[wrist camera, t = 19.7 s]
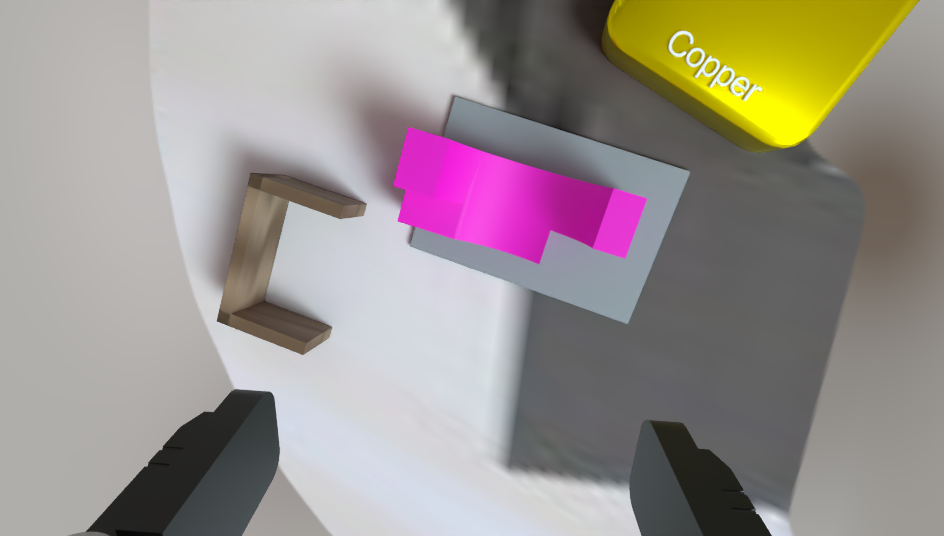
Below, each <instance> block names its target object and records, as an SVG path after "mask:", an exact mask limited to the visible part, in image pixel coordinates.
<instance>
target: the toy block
mask: <svg viewBox="0 0 944 536" xmlns="http://www.w3.org/2000/svg"><path fill="white" fill-rule="evenodd" d="M393 186H394V187H398V188H401V189H404V190H406V191H405V195H404V199H403V203H402V206H401V210H400V214H399V218H398V222H402V223H405V224H408V225H411V226H414V227H417V228H420V229H423V230H427V231H430V232H433V233H436V234H439V235H442V236H445V237H448V238H451V239H456V240H461V241H466V242H470V243H474V244H478V245H482V246H486V247H489V248H493V249H496V250H500V251H503V252H506V253H509V254H512V255H515V256H518V257H521V258H524V259H526V260H529V261H532V262H534V263H537V264H540V261H541V258H542V255H543V252H544V249H545V246H546V243H547V240H548V237H549V234H550V231H554V232H556V233H559V234H562V235H564V236H567V237H569V238H572V239H574V240H577V241H579V242H581V243H584V244H586V245H588V246H589V247H591V248H593V249H596V250H599V251H602V252H605V253H608V254H612V255H615V256H618V257H621V258H624V259H626V256H627V253H628V250H629V248H630V245H631V242H632V239H633V237H634V234H635V231H636V229H637V226H638V223H639V220H640V218H641V215H642V212H643V209H644V207H645V204H646V201H647V199H648V198H645V197H641V196H638V195H635V194H631V193H628V192H625V191H621V190H618V189H615V188H609V187H604V186H600V185H596V184H592V183H588V182H584V181H580V180H576V179H573V178H569V177H565V176H562V175H558V174H555V173H551V172H548V171H544V170H541V169H537V168H534V167H531V166H527V165H524V164H521V163H518V162H514V161H511V160H508V159H505V158H502V157H498V156H495V155H492V154H489V153H486V152H483V151H480V150H477V149H474V148H471V147H469V146H466V145H463V144H460V143H458V142H455V141H452V140H450V139H447V138H444V137H440V136H437V135H434V134H430V133H427V132H424V131H420V130H417V129H413V128H410V127H408V131H407V134H406V138H405V142H404V146H403V150H402V154H401V157H400V161H399V165H398V169H397V173H396V177H395V180H394V184H393Z"/></svg>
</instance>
